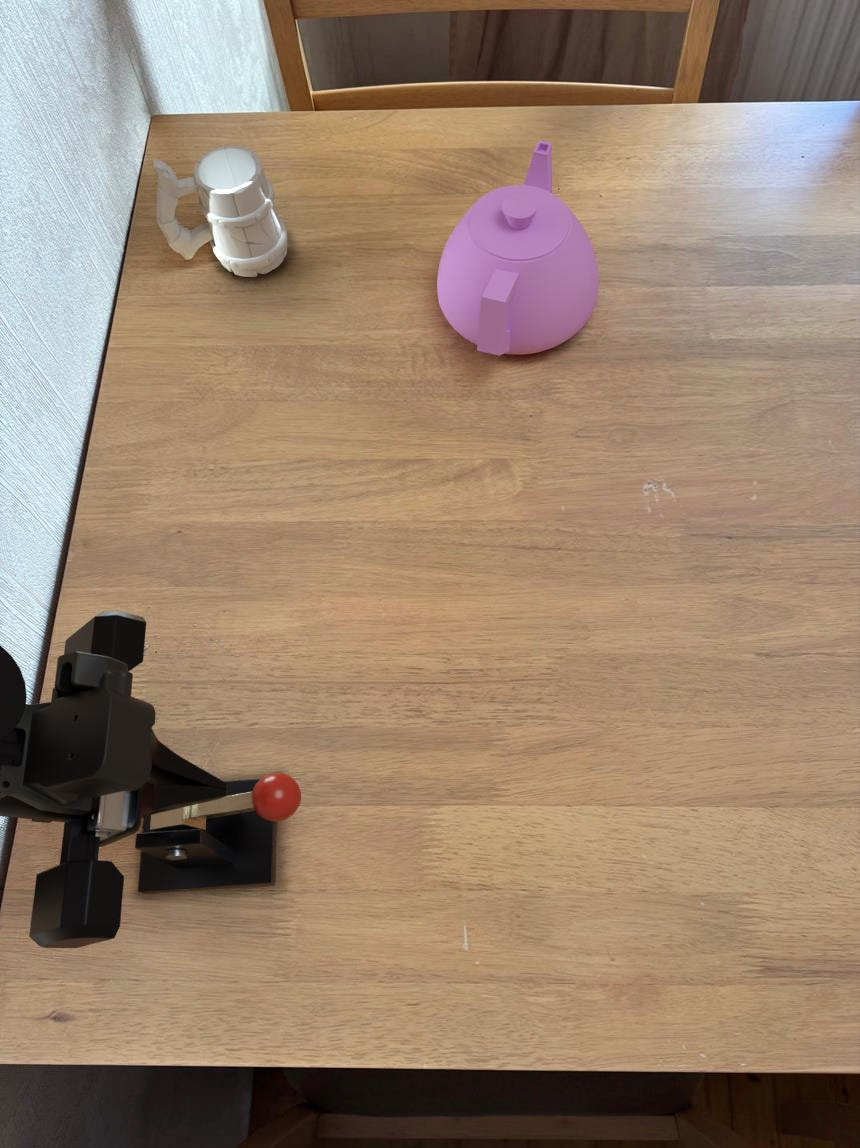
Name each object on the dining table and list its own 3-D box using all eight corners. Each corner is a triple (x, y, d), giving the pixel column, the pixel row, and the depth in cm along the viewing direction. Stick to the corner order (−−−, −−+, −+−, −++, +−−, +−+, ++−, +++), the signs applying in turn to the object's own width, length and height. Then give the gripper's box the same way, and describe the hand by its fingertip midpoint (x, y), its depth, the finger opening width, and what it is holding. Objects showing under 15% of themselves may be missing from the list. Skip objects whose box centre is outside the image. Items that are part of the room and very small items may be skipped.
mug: (298, 269, 93) (271, 167, 82) (183, 296, 92) (139, 197, 81) (282, 216, 96) (254, 111, 85) (171, 242, 95) (127, 138, 84)
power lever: (310, 774, 62) (283, 764, 59) (310, 821, 61) (282, 813, 58) (179, 798, 66) (148, 790, 63) (176, 843, 64) (144, 836, 62)
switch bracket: (278, 781, 72) (246, 746, 63) (275, 885, 69) (242, 863, 60) (151, 790, 72) (101, 756, 63) (143, 894, 69) (89, 874, 60)
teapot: (571, 406, 86) (582, 314, 75) (412, 376, 87) (399, 281, 76) (615, 235, 94) (630, 129, 83) (468, 210, 96) (464, 103, 85)
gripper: (-20, 921, 39) (291, 929, 50) (35, 540, 47) (297, 615, 57) (-93, 948, 47) (192, 950, 57) (-35, 615, 54) (208, 669, 64)
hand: (224, 791), depth 58 cm, fingers closed
